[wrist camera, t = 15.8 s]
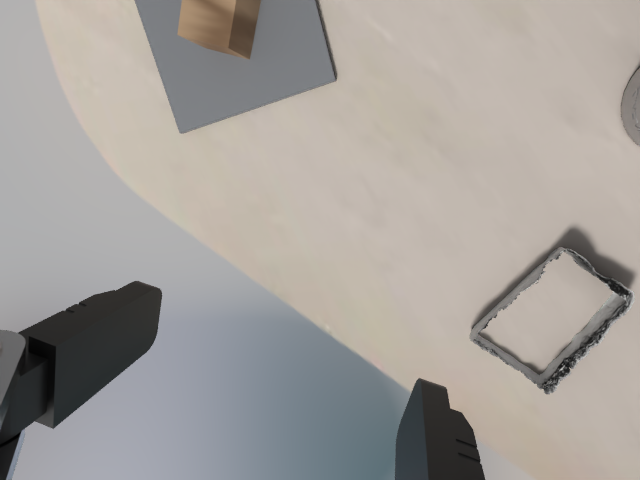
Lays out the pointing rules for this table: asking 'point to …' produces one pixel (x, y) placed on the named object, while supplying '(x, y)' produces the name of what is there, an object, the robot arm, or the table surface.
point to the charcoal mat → (237, 61)
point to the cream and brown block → (220, 24)
